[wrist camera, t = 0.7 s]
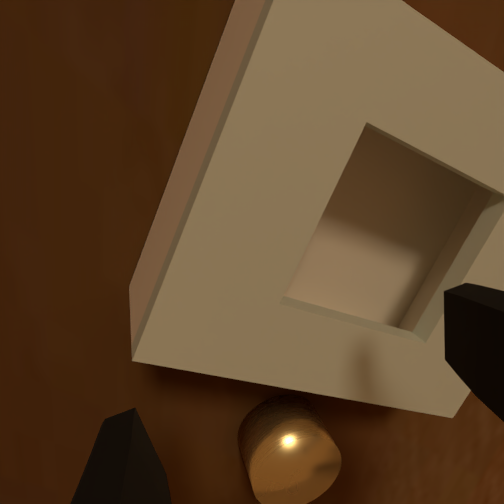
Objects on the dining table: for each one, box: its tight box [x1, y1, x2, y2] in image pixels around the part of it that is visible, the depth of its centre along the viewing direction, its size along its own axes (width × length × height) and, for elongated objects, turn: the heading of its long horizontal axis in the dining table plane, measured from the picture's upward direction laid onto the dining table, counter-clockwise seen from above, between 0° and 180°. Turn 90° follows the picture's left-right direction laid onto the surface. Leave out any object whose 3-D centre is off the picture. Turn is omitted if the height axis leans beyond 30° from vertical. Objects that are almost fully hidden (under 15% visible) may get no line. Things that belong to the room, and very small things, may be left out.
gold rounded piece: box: [237, 395, 342, 504], centre depth 21 cm, size 4×4×3 cm
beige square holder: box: [129, 0, 504, 418], centre depth 16 cm, size 14×12×5 cm
